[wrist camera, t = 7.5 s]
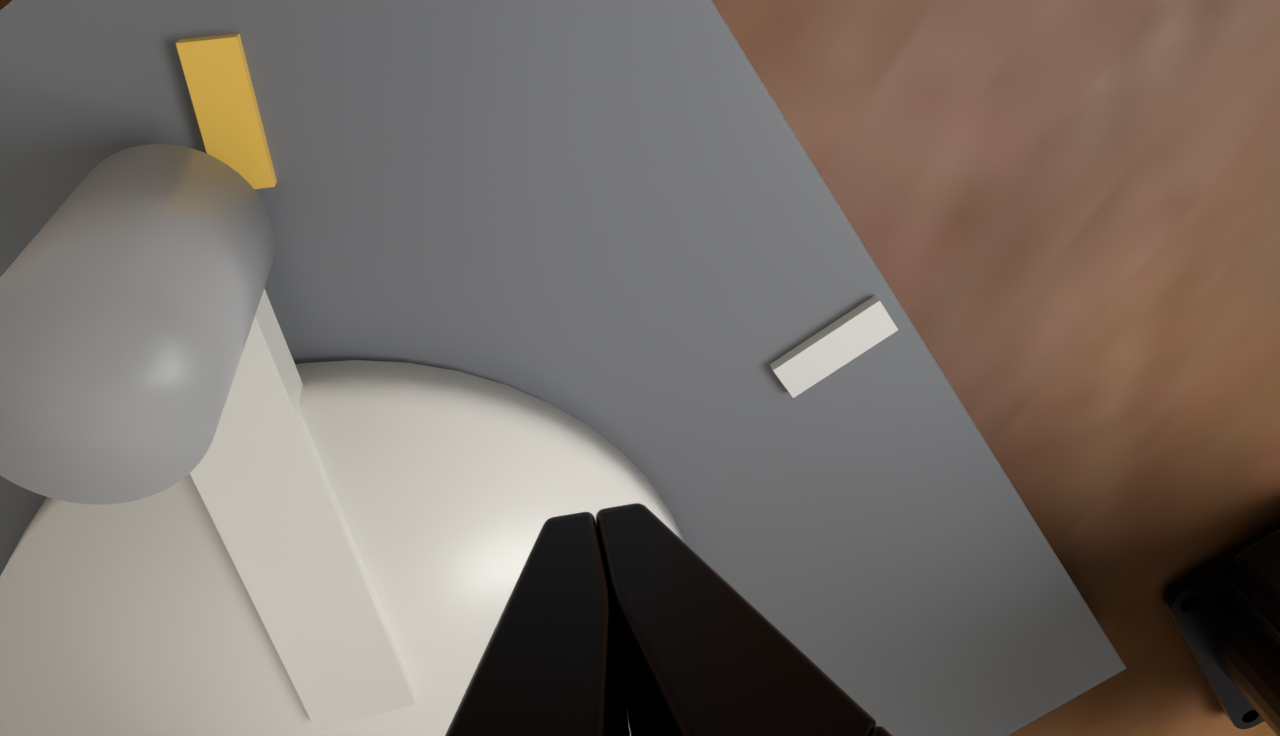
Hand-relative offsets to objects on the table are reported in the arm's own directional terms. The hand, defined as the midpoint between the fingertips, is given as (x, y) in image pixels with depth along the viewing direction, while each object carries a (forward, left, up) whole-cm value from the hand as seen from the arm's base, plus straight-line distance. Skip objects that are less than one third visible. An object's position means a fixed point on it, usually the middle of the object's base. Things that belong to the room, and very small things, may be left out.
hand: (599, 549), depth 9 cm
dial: (-4, +8, -10) cm, 14 cm away
